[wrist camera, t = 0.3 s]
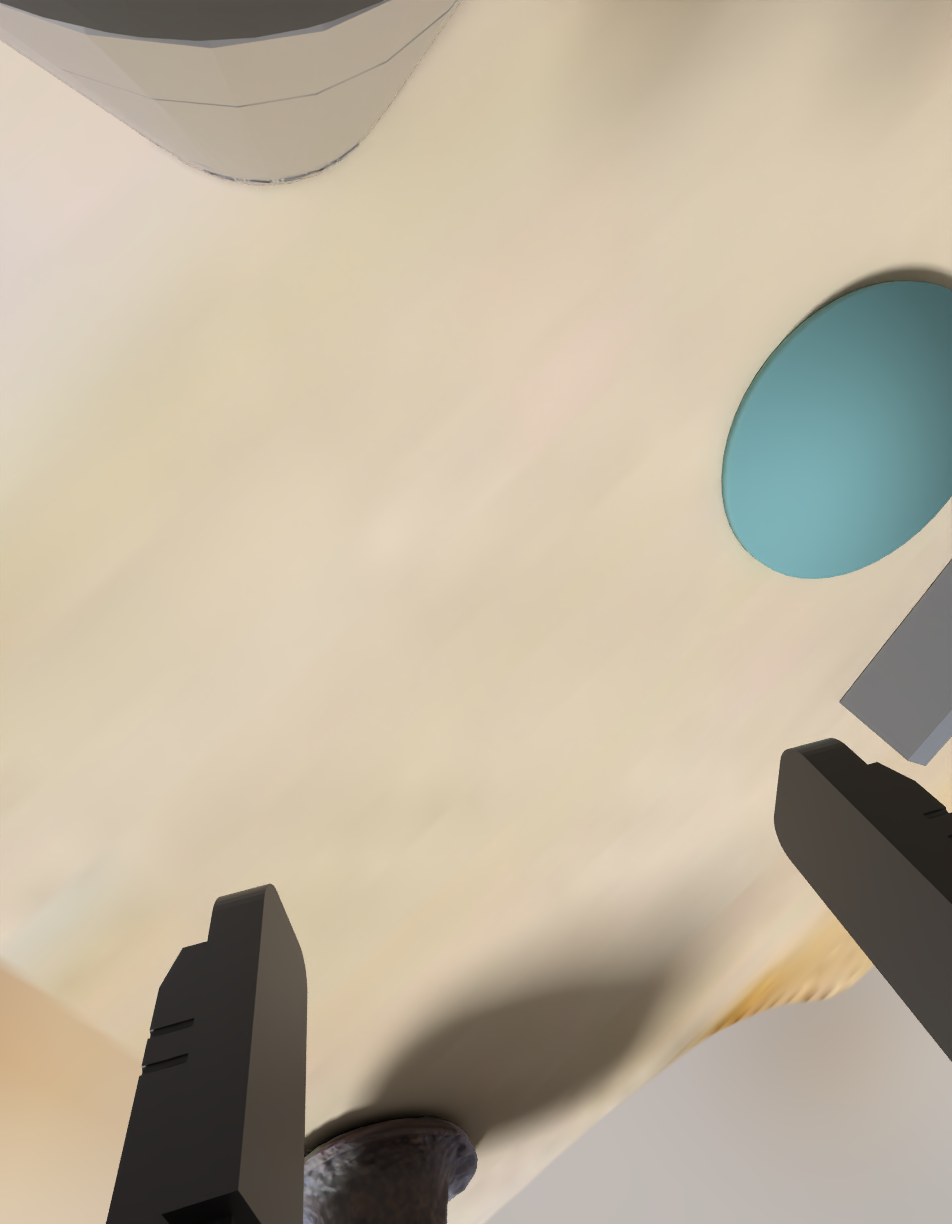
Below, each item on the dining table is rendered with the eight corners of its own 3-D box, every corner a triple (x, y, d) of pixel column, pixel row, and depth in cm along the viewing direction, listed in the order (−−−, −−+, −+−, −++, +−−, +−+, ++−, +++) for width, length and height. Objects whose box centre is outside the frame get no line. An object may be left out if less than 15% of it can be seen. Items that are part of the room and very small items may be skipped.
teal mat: (727, 316, 25) (736, 317, 25) (1018, 252, 27) (1032, 252, 26) (716, 601, 32) (723, 607, 32) (949, 537, 34) (959, 542, 33)
